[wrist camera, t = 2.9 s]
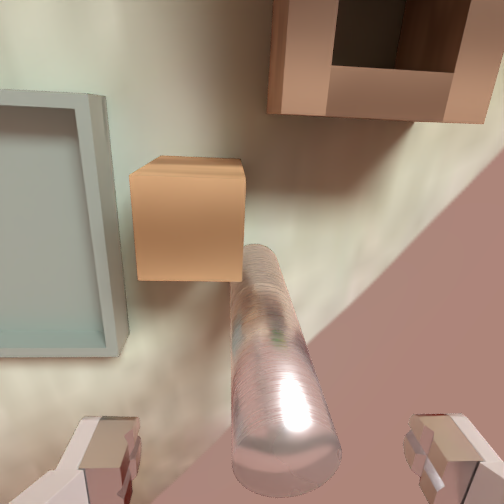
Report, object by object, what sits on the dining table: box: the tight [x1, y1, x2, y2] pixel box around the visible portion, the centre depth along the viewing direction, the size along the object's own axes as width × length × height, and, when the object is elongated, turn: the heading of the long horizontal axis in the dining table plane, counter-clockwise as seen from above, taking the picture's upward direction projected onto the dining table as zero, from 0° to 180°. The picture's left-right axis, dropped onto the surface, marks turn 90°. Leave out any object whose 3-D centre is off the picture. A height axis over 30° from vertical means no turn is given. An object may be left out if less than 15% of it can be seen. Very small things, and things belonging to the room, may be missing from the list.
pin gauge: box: [230, 244, 342, 498], centre depth 14 cm, size 3×3×12 cm
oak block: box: [129, 156, 246, 282], centre depth 15 cm, size 4×4×6 cm
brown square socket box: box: [266, 0, 504, 124], centre depth 13 cm, size 8×8×5 cm
